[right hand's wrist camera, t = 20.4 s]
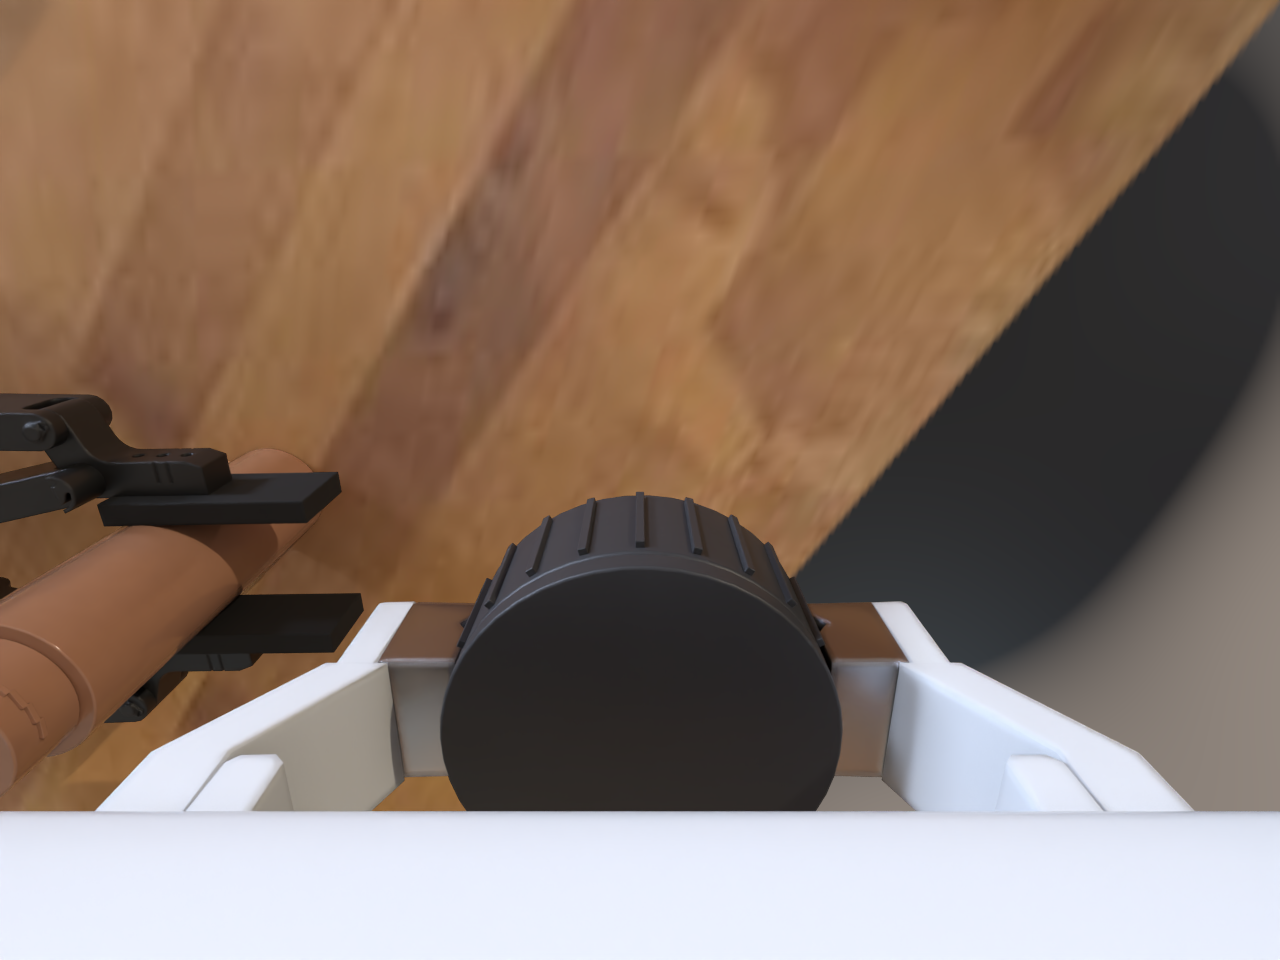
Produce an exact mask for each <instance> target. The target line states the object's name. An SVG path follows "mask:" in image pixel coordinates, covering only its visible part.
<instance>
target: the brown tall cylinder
mask: <svg viewBox="0 0 1280 960" xmlns="http://www.w3.org/2000/svg"><path fill="white" fill-rule="evenodd" d="M228 464H229V468H230V472H231V474H245V473H309V472H313V471H312V470H311V469H310V468H309V467H308V466H307V465H306V464H305V463H304V462H302V461H301V460H300V459H298V458H297V457H295V456H293V455H291V454H289V453H287V452H284V451H280V450H276V449H257V450H253V451H250V452H248V453H246V454H244V455H242V456H240V457H239V458H237V459H235V460H233V461H232V462H230V463H228ZM321 511H322V510H321ZM321 511H320V512H319V513H318V514H316V515H315V516H314V517H313V518H312V519H311V520H310V521H309V522H308V523H291V524H225V525H159V526H122V527H121V528H119V529H117V530H116V531H114V532H112V533H111V534H109V535H107V536H106V537H104V538H102V539H101V540H99V541H97V542H96V543H94V544H92V545H91V546H89V547H87V548H85V549H84V550H82V551H80V552H79V553H77V554H75V555H74V556H72V557H70V558H69V559H67V560H65V561H64V562H62V563H60V564H59V565H57V566H55V567H54V568H52V569H50V570H48V571H47V572H45V573H43V574H42V575H40V576H38V577H37V578H35V579H33V580H32V581H30V582H28V583H27V584H25V585H23V586H22V587H20V588H18V589H17V590H15V591H13V592H11V593H10V594H8V595H6V596H5V597H3V598H1V599H0V797H2V796H3V795H4V794H5V793H7V792H8V791H9V790H10V789H11V788H12V787H13V786H14V785H15V784H17V783H18V782H19V781H20V780H21V779H22V778H23V777H24V776H25V775H26V774H28V773H29V772H30V771H31V770H32V769H33V768H34V767H35V766H36V765H37V764H39V763H40V762H41V761H42V760H43V759H44V758H45V757H49V756H55V755H59V754H62V753H65V752H67V751H69V750H72V749H74V748H75V747H77V746H78V745H80V744H81V743H82V742H83V741H85V740H86V739H87V738H88V737H89V736H90V735H91V734H92V733H93V732H94V731H95V730H96V729H97V728H98V727H99V726H100V725H102V724H103V723H104V722H105V721H106V720H107V719H108V718H109V717H110V716H111V715H112V714H113V713H114V712H115V711H116V710H117V709H119V708H120V707H121V706H122V705H123V704H124V703H125V702H126V701H127V700H128V699H129V698H130V697H131V696H132V695H133V694H134V693H135V692H137V691H138V690H139V689H140V688H141V687H142V686H143V685H144V684H145V683H146V682H147V681H148V680H149V679H150V678H151V677H152V676H154V675H155V674H156V673H157V672H158V671H159V670H160V669H161V668H162V667H163V666H164V665H165V664H166V663H167V662H168V661H169V660H170V659H172V658H173V657H174V656H175V655H176V654H177V653H178V652H179V651H180V650H181V649H182V648H183V647H184V646H185V645H186V644H187V643H188V642H190V641H191V640H192V639H193V638H194V637H195V636H196V635H197V634H198V633H199V632H200V631H201V630H202V629H203V628H204V627H205V626H207V625H208V624H209V623H210V622H211V621H212V620H213V619H214V618H215V617H216V616H217V615H218V614H219V613H220V612H221V611H222V610H223V609H225V608H226V607H227V606H228V605H229V604H230V603H231V602H232V601H233V600H234V599H235V598H236V597H237V596H238V595H239V594H240V593H242V592H243V591H244V590H245V589H246V588H247V587H248V586H249V585H250V584H251V583H252V582H253V581H254V580H255V579H256V578H257V577H258V576H260V575H261V574H262V573H263V572H264V571H265V570H266V569H267V568H268V567H269V566H270V565H271V564H272V563H273V562H274V561H275V560H277V559H278V558H279V557H280V556H281V555H282V554H283V553H284V552H285V551H286V550H287V549H288V548H289V547H290V546H291V545H292V544H293V543H295V542H296V541H297V540H298V539H299V538H300V537H301V536H302V535H303V534H304V533H305V532H306V531H307V530H308V529H309V528H310V527H311V526H313V525H314V523H315V522H316V521H317V520H318V518H319V516H320V514H321Z"/></svg>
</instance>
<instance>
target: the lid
mask: <svg viewBox="0 0 1280 960" xmlns="http://www.w3.org/2000/svg"><path fill="white" fill-rule="evenodd" d="M823 645H825V642H824V640H823V638H822V636H821V633H820V631H819V629H818V627H817V625H816V622H815V620H814V618H813V616H812V614H811V611H810V609H809V607H808V605H807V603H806V601H805V598H804V596H803V594H802V592H801V589H800V587H799V585H798V583H797V581H796V579H795V577H792V578H790V579H789V577H788V576H787V574H786V572H785V571H784V569H783V567H782V566H781V564H780V562H779V560H778V558H777V555H776V553H775V551H774V548H773V546H772V545H771V544H770V543H769V542H767V543H766V544H765V545H764V544H763V543H762V542H761V541H760V540H759V539H758V538H757V537H756V536H755V535H753V534H752V533H751V532H750V531H748V530H747V529H745V528H744V527H743V526H741V525H740V524H739V522H738V519H737V517H735V516H733V515H730V517H729V518H728V517H726V516H724V515H722V514H720V513H718V512H717V511H714V510H712V509H709V508H706V507H704V506H701V505H698V504H695V503H694V502H693V499H691V498H687V497H686V498H685V501H683V500H679V499H675V498H668V497H659V496H644V492H636V496H622V497H615V498H608V499H602V500H598V501H595V498H591V499H588V500H587V504H584V505H581V506H578V507H576V508H573V509H571V510H568V511H566V512H563V513H561V514H559V515H558V516H556V517H554V518H551V517H550V516H547V517H545V518H544V519H543V521H542V524H541V526H539V527H538V528H537V529H535V530H534V531H533V532H531V533H530V534H529V535H527V536H526V537H525V538H524V539H523V540H522V541H521V542H520V543H519V544H518V545H517V546H516V545H514V544H513V543H512V544H511V545H510V546H509V547H508V549H507V551H506V554H505V556H504V559H503V561H502V563H501V566H500V567H499V568H498V570H497V572H496V574H495V576H494V578H493V580H490V579H488V578H487V579H486V581H485V583H484V585H483V587H482V589H481V592H480V594H479V596H478V598H477V601H476V603H475V605H474V607H473V609H472V612H471V614H470V616H469V618H468V621H467V623H466V625H465V627H464V630H463V632H462V634H461V636H460V639H459V641H458V643H457V645H456V646H457V647H459V648H461V649H462V650H461V653H460V655H459V658H458V660H457V662H456V664H455V667H454V669H453V671H452V674H451V677H450V679H449V682H448V685H447V688H446V691H445V694H444V698H443V704H442V709H441V715H440V741H441V748H442V755H443V761H444V764H445V767H446V770H447V773H448V777H449V780H450V782H451V784H452V786H453V788H454V790H455V792H456V795H457V797H458V799H459V801H460V802H461V803H462V805H463V806H464V808H465V809H466V811H816V810H817V808H818V807H819V805H820V804H821V802H822V800H823V799H824V797H825V796H826V794H827V791H828V789H829V787H830V785H831V782H832V780H833V778H834V775H835V772H836V768H837V764H838V761H839V757H840V753H841V743H842V733H843V728H842V712H841V706H840V701H839V697H838V693H837V688H836V686H835V683H834V681H833V678H832V676H831V673H830V671H829V668H828V666H827V664H826V661H825V659H824V657H823V655H822V653H821V650H820V648H819V647H821V646H823Z"/></svg>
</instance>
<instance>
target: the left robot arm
mask: <svg viewBox="0 0 1280 960" xmlns="http://www.w3.org/2000/svg"><path fill="white" fill-rule="evenodd" d="M111 421H112V411H111V409H110V407H109V405H108V404H107V403H106V402H105V401H104V400H103V399H101V398H99V397H97V396H94V395H77V394H0V451H45V452H46V453H47V455H48V456H49V457H50V459H51V460H52V462H48V463H44V464H40V465H36V466H31V467H27V468H23V469H19V470H14V471H10V472H6V473H2V474H0V523H3V522H7V521H12V520H16V519H20V518H25V517H29V516H33V515H38V514H42V513H47V512H51V511H55V510H60V509H64V508H66V509H65V510H63V511H64V512H65V513H67V512H69V511H71V510H73V509H75V508H77V507H79V506H81V505H83V504H85V503H87V502H89V501H91V500H93V499H95V498H109V499H107V500H105V501H103V502H101V503H99V504H97V506H98V509H99V512H100V515H101V518H102V521H103V524H104V526H159V525H225V524H291V523H308V522H309V521H310V520H311V519H312V518H313V517H314V516H315V515H316V514H318V513H319V512H320V511H321V510H322V509H323V508H324V507H325V506H326V505H328V504H329V503H330V502H331V501H332V500H333V499H334V498H335V497H336V496H338V495H339V494H340V493H341V492H342V491H341V486H340V480H339V475H338V472H309V473H245V474H231V472H230V468H229V464H228V460H227V455H226V453H223V452H220V451H217V450H214V449H211V448H194V449H191V448H186V449H135V448H132V447H129V446H127V445H126V444H124V443H123V442H121V441H120V440H119V439H118V438H117V436H116V435H115V434H114V433H113V431H112V430H111V428H110V427H109V425H110V423H111ZM17 589H18V588H12V587H11V585H10V581H9V580H8V579H6V578H3V577H0V599H1V598H3V597H5V596H6V595H8V594H10V593H11V592H13V591H15V590H17ZM363 611H364V609H363V604H362V598H361V593H346V594H274V595H238V596H237V597H236V598H235V599H234V600H233V601H232V602H231V603H230V604H229V605H228V606H227V607H226V608H225V609H223V610H222V611H221V612H220V613H219V614H218V615H217V616H216V617H215V618H214V619H213V620H212V621H211V622H210V623H209V624H208V625H207V626H205V627H204V628H203V629H202V630H201V631H200V632H199V633H198V634H197V635H196V636H195V637H194V638H193V639H192V640H191V641H190V642H188V643H187V644H186V645H185V646H184V647H183V648H182V649H181V650H180V651H179V652H178V653H177V654H176V655H175V656H174V657H173V658H172V659H170V660H169V661H168V662H167V663H166V664H165V665H164V666H163V667H162V668H161V669H160V670H159V671H158V672H157V673H156V674H155V675H154V676H152V677H151V678H150V679H149V680H148V681H147V682H146V683H145V684H144V685H143V686H142V687H141V688H140V689H139V690H138V691H137V692H135V693H134V694H133V695H132V696H131V697H130V698H129V699H128V700H127V701H126V702H125V703H124V704H123V705H122V706H121V707H120V708H119V709H117V710H116V711H115V712H114V713H113V714H112V715H111V716H110V717H109V718H108V719H107V720H106V721H105V722H104V723H115V722H136V721H141V720H142V719H144V718H145V717H146V716H147V715H148V714H149V713H150V712H151V711H152V710H153V709H154V708H155V707H156V706H157V705H158V704H159V703H160V702H161V701H162V700H163V699H164V698H165V697H166V696H167V695H168V694H169V693H170V692H171V691H172V690H173V689H174V688H175V687H176V686H177V685H178V684H179V683H180V682H181V681H182V680H183V679H184V678H185V677H186V676H187V674H188V671H212V670H213V671H223V670H225V671H240V670H242V669H245V668H248V667H250V666H252V665H253V664H254V663H255V662H256V661H257V660H258V659H259V657H260V656H261V655H262V654H263V653H328V652H335V650H336V649H337V647H338V646H339V645H340V643H341V642H342V640H343V639H344V637H345V636H346V635H347V633H348V632H349V630H350V629H351V628H352V626H353V625H354V623H355V622H356V621H357V619H358V618H359V616H360V615H361V614H362V612H363Z"/></svg>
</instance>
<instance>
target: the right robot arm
mask: <svg viewBox="0 0 1280 960" xmlns="http://www.w3.org/2000/svg"><path fill="white" fill-rule="evenodd" d="M474 605H475V603H432V602H418V603H416V602H384V603H380V604H379V605H378V606H377V607H376V608H375V610H374V611H373V613H372V614H371V615H370V617H369V618H368V620H367V621H366V622H365V624H364V625H363V627H362V628H361V629H360V631H359V632H358V634H357V635H356V636H355V638H354V639H353V641H352V642H351V643H350V645H349V646H348V648H347V649H346V650H345V652H344V653H343V655H342V656H341V657H340V659H339V660H338V662H337V663H325V664H323V665H321V666H319V667H317V668H315V669H313V670H311V671H309V672H307V673H305V674H303V675H301V676H299V677H297V678H295V679H293V680H291V681H289V682H288V683H286V684H284V685H282V686H280V687H278V688H276V689H274V690H272V691H270V692H268V693H266V694H264V695H262V696H260V697H258V698H256V699H254V700H252V701H250V702H248V703H246V704H244V705H242V706H240V707H238V708H236V709H234V710H232V711H230V712H228V713H226V714H225V715H223V716H221V717H219V718H217V719H215V720H213V721H211V722H209V723H207V724H205V725H203V726H201V727H199V728H197V729H195V730H193V731H191V732H189V733H187V734H185V735H183V736H181V737H179V738H177V739H175V740H173V741H171V742H169V743H167V744H165V745H163V746H162V747H160V748H158V749H156V750H154V751H152V752H150V753H149V755H148V756H147V757H146V758H145V759H144V760H143V761H142V762H141V763H140V764H139V765H138V766H137V767H136V768H135V769H134V770H133V771H132V772H131V774H130V775H129V776H128V777H127V778H126V779H125V780H124V781H123V782H122V783H121V784H120V785H119V786H118V787H117V788H116V789H115V790H114V791H113V792H112V794H111V795H110V796H109V797H108V798H107V799H106V800H105V801H104V802H103V803H102V804H101V805H100V806H99V807H98V808H97V809H96V810H95V811H0V960H1280V811H1194V810H1193V809H1192V808H1191V807H1190V806H1189V804H1188V803H1187V802H1186V801H1185V800H1184V799H1183V798H1182V797H1181V796H1180V795H1179V794H1178V793H1177V792H1176V791H1175V790H1174V789H1173V788H1172V787H1171V786H1170V785H1169V784H1168V783H1167V782H1166V781H1165V779H1164V778H1163V777H1162V776H1161V775H1160V774H1159V773H1158V772H1157V771H1156V770H1155V769H1154V768H1153V767H1152V766H1151V765H1150V764H1149V763H1148V762H1147V761H1146V760H1145V759H1144V758H1143V757H1142V755H1141V754H1140V753H1138V752H1136V751H1134V750H1132V749H1130V748H1128V747H1126V746H1124V745H1123V744H1121V743H1119V742H1117V741H1115V740H1113V739H1111V738H1109V737H1107V736H1105V735H1103V734H1101V733H1099V732H1097V731H1095V730H1093V729H1091V728H1089V727H1087V726H1085V725H1083V724H1081V723H1079V722H1077V721H1075V720H1073V719H1071V718H1069V717H1067V716H1065V715H1063V714H1061V713H1059V712H1057V711H1055V710H1053V709H1051V708H1049V707H1047V706H1045V705H1043V704H1041V703H1039V702H1037V701H1035V700H1033V699H1031V698H1029V697H1027V696H1025V695H1023V694H1021V693H1019V692H1018V691H1016V690H1014V689H1012V688H1010V687H1008V686H1006V685H1004V684H1002V683H1000V682H998V681H996V680H994V679H992V678H990V677H988V676H986V675H984V674H982V673H980V672H978V671H976V670H974V669H972V668H970V667H968V666H966V665H964V664H962V663H950V662H949V660H948V659H947V658H946V656H945V655H944V654H943V652H942V651H941V650H940V648H939V647H938V646H937V644H936V643H935V641H934V640H933V639H932V637H931V636H930V635H929V633H928V632H927V631H926V629H925V628H924V627H923V625H922V624H921V622H920V621H919V620H918V618H917V617H916V616H915V614H914V613H913V612H912V610H911V609H910V608H909V606H908V605H907V604H906V603H903V602H901V601H899V602H875V603H871V602H866V603H826V604H807V605H808V607H809V609H810V611H811V614H812V616H813V618H814V620H815V622H816V625H817V627H818V629H819V631H820V633H821V636H822V638H823V640H824V642H825V645H823V646H821V647H819V648H820V650H821V653H822V655H823V657H824V659H825V661H826V664H827V666H828V668H829V671H830V673H831V676H832V678H833V681H834V683H835V686H836V688H837V693H838V697H839V701H840V706H841V712H842V728H843V733H842V743H841V753H840V757H839V761H838V764H837V768H836V772H835V775H834V776H860V777H882V781H884V782H885V783H886V784H887V785H888V786H889V787H890V788H891V789H892V790H893V791H894V792H896V793H897V794H898V795H899V796H900V797H901V798H902V799H903V800H904V801H905V802H907V803H908V804H909V805H910V806H911V807H912V808H913V809H914V810H915V811H372V810H373V809H374V808H375V807H376V806H377V805H378V804H379V803H380V802H382V801H383V800H384V799H385V798H386V797H387V796H388V795H389V794H390V793H391V792H392V791H394V790H395V789H396V788H397V787H398V786H399V785H400V784H401V783H402V782H403V781H404V777H426V776H448V773H447V770H446V767H445V764H444V761H443V755H442V748H441V741H440V715H441V709H442V704H443V698H444V694H445V691H446V688H447V685H448V682H449V679H450V677H451V674H452V671H453V669H454V667H455V664H456V662H457V660H458V658H459V655H460V653H461V650H462V649H461V648H459V647H457V646H456V645H457V643H458V641H459V639H460V636H461V634H462V632H463V630H464V627H465V625H466V623H467V621H468V618H469V616H470V614H471V612H472V609H473V607H474Z"/></svg>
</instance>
